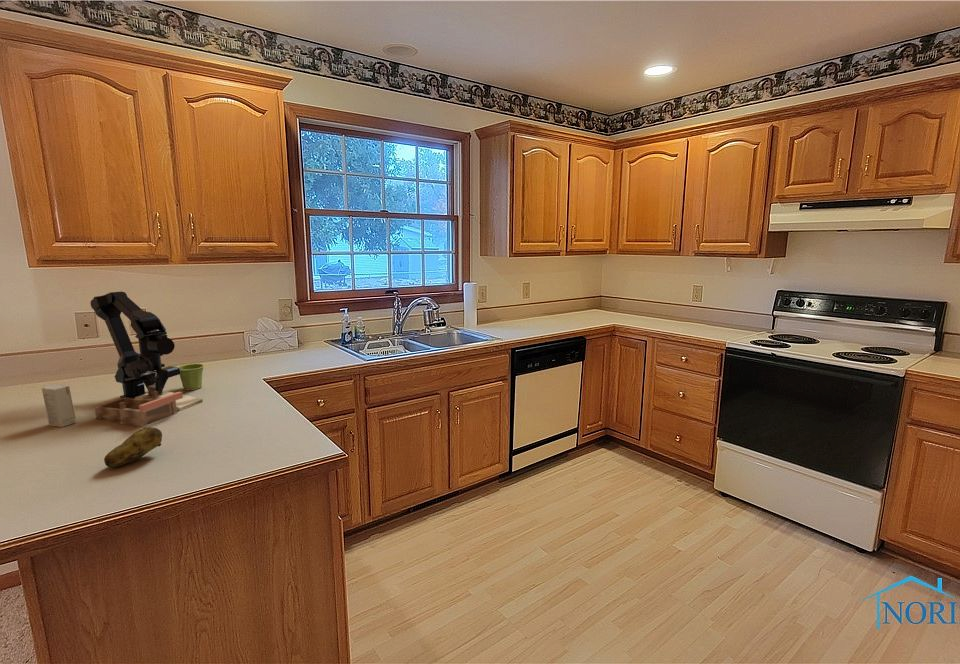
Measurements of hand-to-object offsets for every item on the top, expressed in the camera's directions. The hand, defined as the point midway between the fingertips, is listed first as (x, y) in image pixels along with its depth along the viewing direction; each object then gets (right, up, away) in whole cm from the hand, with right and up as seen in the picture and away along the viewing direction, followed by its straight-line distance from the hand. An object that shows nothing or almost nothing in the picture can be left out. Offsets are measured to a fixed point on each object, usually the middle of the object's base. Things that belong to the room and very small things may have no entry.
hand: (155, 393), depth 169 cm
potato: (+25, -12, -44) cm, 52 cm away
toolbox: (+2, -6, -13) cm, 15 cm away
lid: (+6, -2, -1) cm, 6 cm away
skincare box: (-16, -7, -20) cm, 26 cm away
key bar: (+14, -1, -17) cm, 22 cm away
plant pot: (+3, 0, +16) cm, 17 cm away
